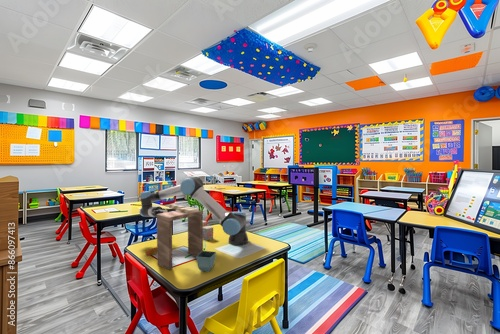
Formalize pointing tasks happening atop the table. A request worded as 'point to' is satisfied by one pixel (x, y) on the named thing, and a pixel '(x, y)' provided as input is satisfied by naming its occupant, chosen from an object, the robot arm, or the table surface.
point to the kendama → (151, 251)
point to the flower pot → (206, 260)
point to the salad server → (184, 208)
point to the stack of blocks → (207, 231)
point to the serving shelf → (166, 235)
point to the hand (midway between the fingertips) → (174, 211)
